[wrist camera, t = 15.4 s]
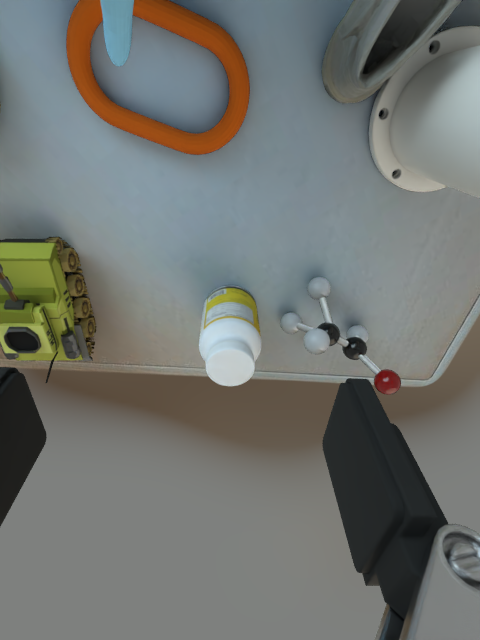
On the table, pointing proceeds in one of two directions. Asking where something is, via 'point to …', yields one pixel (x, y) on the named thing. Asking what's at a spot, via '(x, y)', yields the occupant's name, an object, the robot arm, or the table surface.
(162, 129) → the orange rounded loop
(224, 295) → the pill bottle
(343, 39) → the sneaker
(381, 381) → the molecular model
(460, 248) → the table surface
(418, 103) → the robot arm
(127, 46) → the light blue rounded piece
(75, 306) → the toy tank
